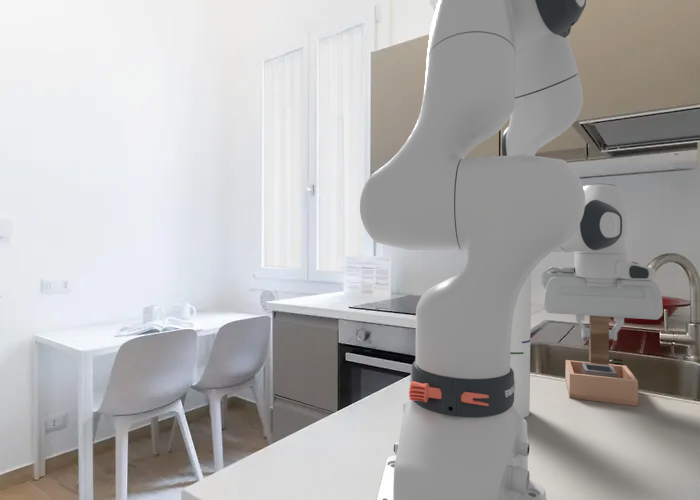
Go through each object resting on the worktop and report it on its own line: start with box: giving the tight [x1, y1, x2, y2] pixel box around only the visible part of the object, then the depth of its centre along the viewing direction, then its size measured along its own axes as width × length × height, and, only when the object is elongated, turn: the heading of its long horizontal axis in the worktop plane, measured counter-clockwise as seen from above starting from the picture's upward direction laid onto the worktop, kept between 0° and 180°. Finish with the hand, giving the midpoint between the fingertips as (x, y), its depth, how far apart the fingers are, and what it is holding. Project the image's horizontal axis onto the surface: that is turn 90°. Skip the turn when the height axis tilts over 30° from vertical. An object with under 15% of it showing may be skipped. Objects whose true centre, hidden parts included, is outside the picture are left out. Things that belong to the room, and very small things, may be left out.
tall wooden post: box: [588, 316, 610, 365], centre depth 86 cm, size 3×3×12 cm
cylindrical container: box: [510, 272, 532, 419], centre depth 76 cm, size 7×7×25 cm
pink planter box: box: [564, 359, 639, 407], centre depth 86 cm, size 11×11×5 cm
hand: (598, 338), depth 86 cm, fingers closed on tall wooden post, 3 cm apart
